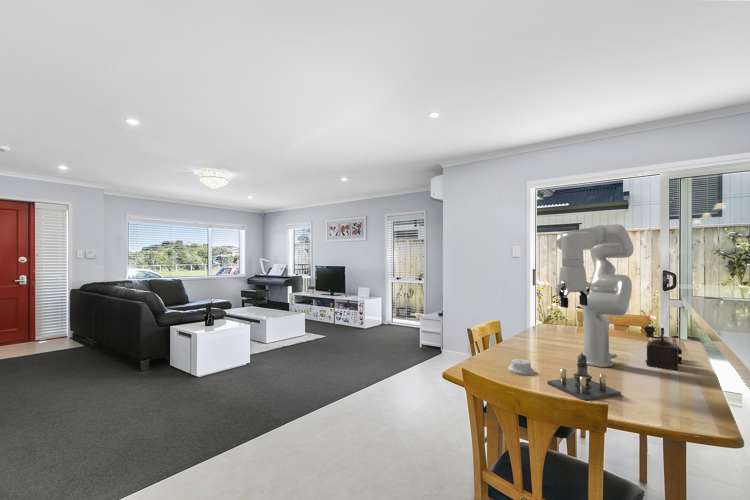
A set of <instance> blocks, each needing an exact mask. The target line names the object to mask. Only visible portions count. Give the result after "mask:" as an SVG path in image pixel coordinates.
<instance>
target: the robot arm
mask: <svg viewBox="0 0 750 500" xmlns="http://www.w3.org/2000/svg"><path fill="white" fill-rule="evenodd" d="M555 244H556V247H557V249H559V250H561V267H560V269H559V276H558V284H557V285H556V286H555V287H554V289H555V291H556V294H557V295H558V296H559V298H560V307H561V308H564V309H565V308H566V309H569V297H568V296H569V294H570V293H580V294H579V297H578V298H579V300H578V301H579V306H580V305H581V310H582V315H583V316H582V317H583V355H585V356H586V358H587V365H588V366H591V367H599V368H609V367H614V362H613V361H612V359H617V358H618V355H617V354H616V353H610V331H609V330H610V328H609V322H608V320H607V319H606V317H604V315H605V316H616V317H617V316H618V317H621V316H625V315H626V314H627V312H628V310H629V306H630V300H631V296H632V292H633V282H632V280H631V277H630V276H628V275H625V274H616V267H615V265H613V263H612V262H610V261H609V260H608V259H614V258H615V259H617V258H618V259H620V258H621V259H623V258H624V259H625V258H630V257H631V256H633V254H634V250H635V249H634V244H633V241H632V239H631V237H630V234H629V232H628V230H627V229H626V227H625V226H624V225H622V224H604V225H603V224H601V225H600V224H599V225H595V226H592V227H591V226H590V227H585V228H580V229H576V230H575V229H574V230H569V231H563V232H560V233H559V234H558V235H557V237H556V239H555ZM589 250H590V251H589ZM584 251H589V252H590V257H591V260H592V264H593V266H594V267H593V272H592V275H591V278H590V282H588V280H587V273H586V268H585V264H584V263H585V260H584ZM607 258H608V259H607Z"/></svg>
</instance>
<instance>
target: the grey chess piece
mask: <svg viewBox="0 0 750 500" xmlns="http://www.w3.org/2000/svg"><path fill="white" fill-rule="evenodd" d="M576 366H577V372H575V373H573V374H572V375H573V378H575V380H576V381H577V382H578V383H575V384H574V385H575V386H576V387H579V388H580V376H584V377H586V389H589V388H591V386H590V385H589V384H588V383H590V381H591V380H592V379H593V376H592V375H590V374H589V373H588V367H589V365H587V358H586V356H585V355H584V352H580V354H578V355H577V363H576Z"/></svg>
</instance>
